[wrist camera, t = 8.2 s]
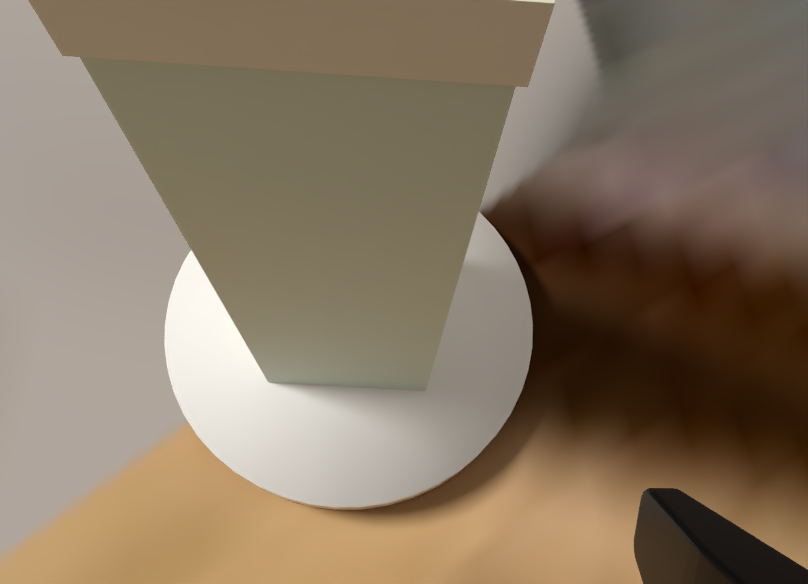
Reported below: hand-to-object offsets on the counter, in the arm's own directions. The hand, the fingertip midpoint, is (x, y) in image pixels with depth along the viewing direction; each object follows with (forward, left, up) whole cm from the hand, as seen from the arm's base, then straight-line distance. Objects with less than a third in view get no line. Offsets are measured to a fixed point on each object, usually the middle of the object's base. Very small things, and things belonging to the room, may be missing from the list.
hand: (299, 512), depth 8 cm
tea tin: (+5, +4, -8) cm, 10 cm away
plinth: (+5, +4, -10) cm, 11 cm away
